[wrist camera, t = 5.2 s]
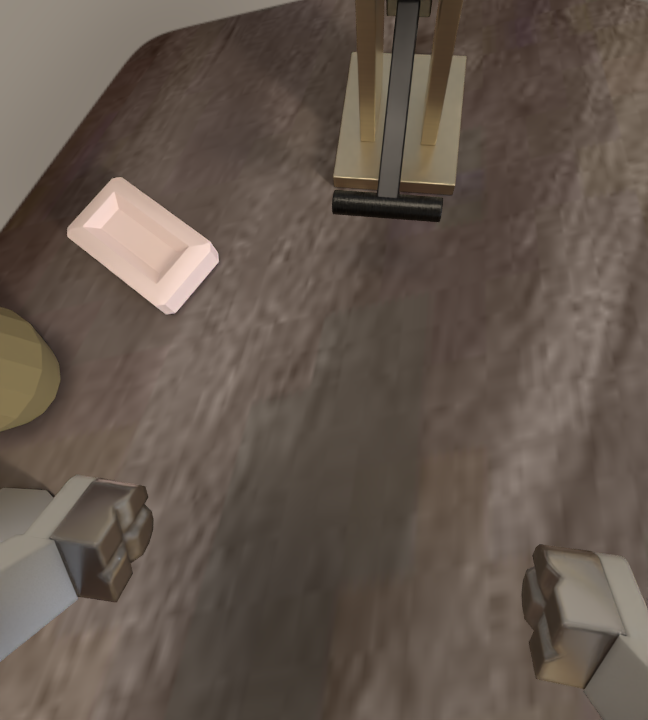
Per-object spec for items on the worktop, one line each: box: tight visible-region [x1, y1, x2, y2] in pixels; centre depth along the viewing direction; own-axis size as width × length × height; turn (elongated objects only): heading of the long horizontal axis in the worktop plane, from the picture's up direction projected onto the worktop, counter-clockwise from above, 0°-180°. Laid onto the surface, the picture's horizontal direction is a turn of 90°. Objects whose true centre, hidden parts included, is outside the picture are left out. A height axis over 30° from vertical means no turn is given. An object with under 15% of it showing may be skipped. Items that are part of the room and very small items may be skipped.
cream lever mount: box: [333, 0, 467, 195], centre depth 28 cm, size 10×8×13 cm
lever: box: [332, 0, 443, 222], centre depth 24 cm, size 13×6×2 cm, turn 172°
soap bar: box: [67, 177, 219, 314], centre depth 33 cm, size 5×9×2 cm, turn 52°
